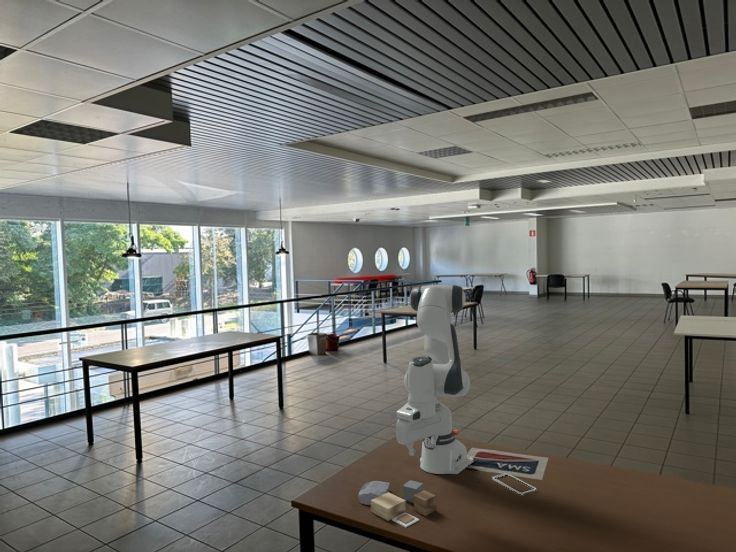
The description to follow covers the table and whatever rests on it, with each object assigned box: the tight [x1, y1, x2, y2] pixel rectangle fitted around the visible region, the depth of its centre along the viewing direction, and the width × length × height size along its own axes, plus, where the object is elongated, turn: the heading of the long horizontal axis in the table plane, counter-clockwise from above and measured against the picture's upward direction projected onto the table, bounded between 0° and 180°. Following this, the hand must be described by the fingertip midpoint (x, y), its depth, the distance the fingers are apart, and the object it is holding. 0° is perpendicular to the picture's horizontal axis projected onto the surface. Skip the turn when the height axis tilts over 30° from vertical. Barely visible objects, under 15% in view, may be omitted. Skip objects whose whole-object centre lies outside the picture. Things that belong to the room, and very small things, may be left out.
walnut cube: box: [413, 490, 437, 517], centre depth 158 cm, size 5×5×5 cm
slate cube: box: [402, 479, 424, 504], centre depth 166 cm, size 5×5×5 cm
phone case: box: [491, 472, 537, 496], centre depth 174 cm, size 7×1×15 cm
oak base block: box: [370, 492, 407, 521], centre depth 158 cm, size 8×8×4 cm
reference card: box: [391, 511, 420, 528], centre depth 152 cm, size 6×6×1 cm
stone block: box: [358, 480, 391, 506], centre depth 169 cm, size 12×5×10 cm
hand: (422, 451), depth 158 cm, fingers open, 8 cm apart
